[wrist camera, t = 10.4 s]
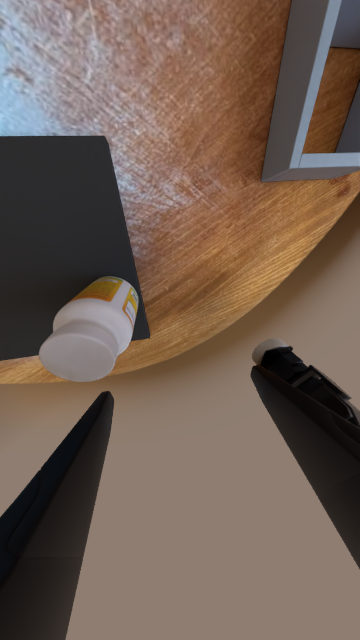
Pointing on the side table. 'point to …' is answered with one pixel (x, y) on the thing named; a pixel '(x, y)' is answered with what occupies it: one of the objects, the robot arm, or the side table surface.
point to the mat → (57, 234)
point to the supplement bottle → (91, 331)
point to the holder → (311, 92)
